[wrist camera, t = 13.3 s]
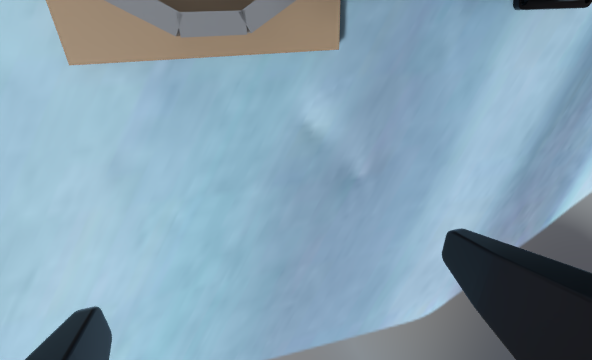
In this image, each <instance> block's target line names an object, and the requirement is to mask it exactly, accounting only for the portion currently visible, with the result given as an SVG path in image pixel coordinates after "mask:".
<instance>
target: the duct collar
mask: <svg viewBox="0 0 592 360" xmlns="http://www.w3.org/2000/svg"><path fill="white" fill-rule="evenodd" d="M46 2H47V5H48V7H49V10H50V13H51V16H52V18H53V21H54V24H55V27H56V30H57V32H58V35H59V38H60V41H61V44H62V46H63V49H64V52H65V55H66V58H67V60H68V63H69V65H84V64H101V63H118V62H135V61H152V60H169V59H186V58H203V57H220V56H237V55H254V54H271V53H288V52H305V51H322V50H339V32H340V0H46Z"/></svg>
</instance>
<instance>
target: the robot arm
mask: <svg viewBox="0 0 592 360" xmlns="http://www.w3.org/2000/svg"><path fill="white" fill-rule="evenodd" d="M591 3H592V0H523V2H522V0H514V2H513V7H514V9H515V10H537V9H568V8H586V7H588V6H589V5H590V4H591ZM442 258H443V261H444V263H445V264H446V266H447V267H448V269H449V270H450V272H451V273H452V275H453V276H454V278H455V279H456V281H457V282H458V284H459V285H460V287H461V288H462V290H463V291H464V293H465V294H466V296H467V297H468V299H469V300H470V302H471V303H472V304H473V306H474V307H475V309H476V310H477V311H478V313H479V314H480V315H481V317H482V318H483V319H484V320H485V322H486V323H487V324H488V325H489V327H490V328H491V329H492V330H493V332H494V333H495V334H496V335H497V337H498V338H499V339H500V340H501V341H502V343H503V344H504V345H505V347H506V348H507V349H508V350H509V352H510V353H511V354H512V355H513V357H514V358H515V359H516V360H592V273H590V272H587V271H585V270H582V269H579V268H576V267H573V266H570V265H567V264H564V263H561V262H558V261H555V260H553V259H550V258H547V257H544V256H541V255H538V254H535V253H532V252H530V251H527V250H524V249H521V248H518V247H515V246H512V245H509V244H506V243H503V242H501V241H498V240H495V239H492V238H489V237H486V236H483V235H480V234H477V233H474V232H472V231H469V230H466V229H456V230H451V231H449V232H448V233H447V235H446V238H445V242H444V246H443V250H442ZM111 342H112V334H111V330H110V328H109V326H108V323H107V321H106V319H105V317H104V315H103V312H102V310H101V309H100V308H99V307H90V308H86V309H81V310H78V311H76V312H74V313H73V314H72V315H71V316H70V317H69V318H68V319H67V320H66V321H65V322H64V323H63V324H62V325H60V326H59V327H58V328H57V329H56V330H55V331H54V332H53V333H52V334H51V335H50V336H49V337H48V338H47V339H46V340H45V341H44V342H43V343H42V344H41V345H40V346H39V347H38V348H36V349H35V350H34V351H33V352H32V353H31V354H30V355H29V356H28V357H27V358H26V359H25V360H109V356H110V349H111Z"/></svg>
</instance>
